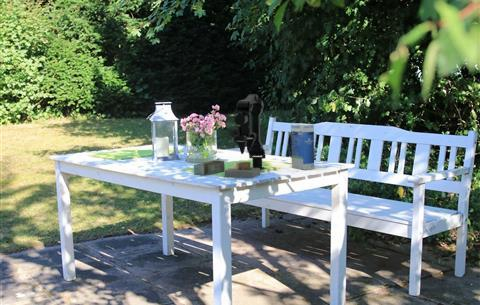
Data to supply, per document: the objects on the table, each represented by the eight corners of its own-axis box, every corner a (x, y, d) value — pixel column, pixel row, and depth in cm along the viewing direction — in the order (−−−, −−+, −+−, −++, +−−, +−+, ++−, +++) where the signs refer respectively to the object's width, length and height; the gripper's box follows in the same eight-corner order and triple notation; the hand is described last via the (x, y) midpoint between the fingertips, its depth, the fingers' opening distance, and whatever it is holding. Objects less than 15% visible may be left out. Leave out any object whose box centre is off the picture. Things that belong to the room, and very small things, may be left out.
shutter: (232, 168, 315) (232, 161, 315) (242, 168, 313) (242, 161, 313) (227, 169, 310) (227, 163, 309) (238, 170, 307) (238, 163, 307)
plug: (243, 174, 312) (243, 161, 311) (250, 174, 311) (250, 162, 310) (241, 175, 308) (240, 162, 308) (248, 175, 307) (247, 163, 306)
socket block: (233, 173, 319) (233, 166, 318) (260, 174, 313) (260, 167, 312) (224, 176, 308) (224, 169, 307) (252, 178, 302) (252, 171, 301)
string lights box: (314, 169, 329) (314, 124, 325) (304, 170, 325) (303, 124, 322) (301, 166, 340) (300, 123, 337) (290, 167, 336) (290, 123, 333)
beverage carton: (193, 175, 316) (192, 163, 315) (214, 170, 332) (214, 159, 331) (204, 176, 312) (204, 164, 311) (225, 171, 327) (225, 160, 326)
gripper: (237, 122, 318) (238, 150, 320) (224, 125, 301) (224, 154, 302) (256, 122, 313) (256, 151, 315) (243, 125, 296) (244, 155, 298)
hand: (245, 152), depth 308 cm, fingers open, 9 cm apart
